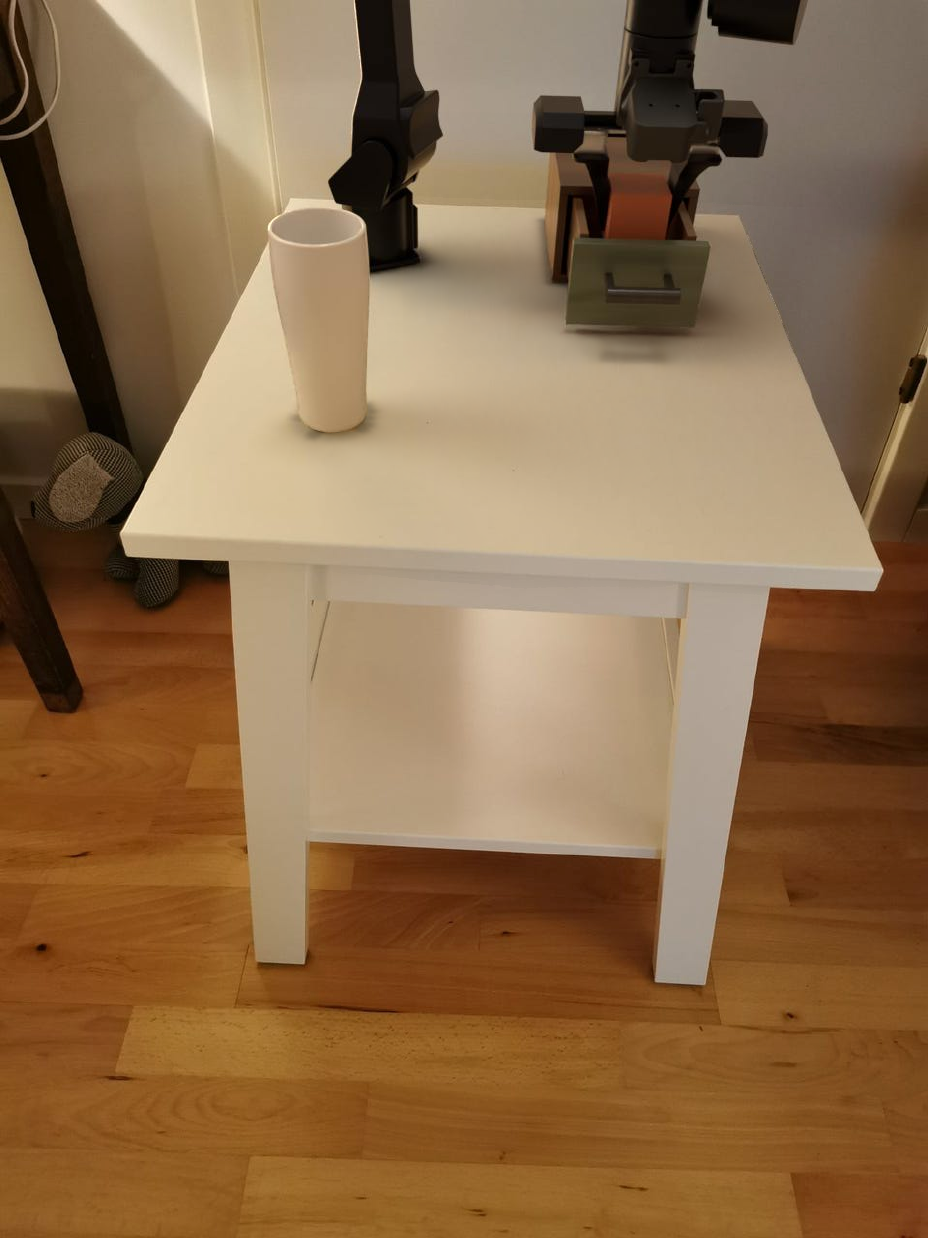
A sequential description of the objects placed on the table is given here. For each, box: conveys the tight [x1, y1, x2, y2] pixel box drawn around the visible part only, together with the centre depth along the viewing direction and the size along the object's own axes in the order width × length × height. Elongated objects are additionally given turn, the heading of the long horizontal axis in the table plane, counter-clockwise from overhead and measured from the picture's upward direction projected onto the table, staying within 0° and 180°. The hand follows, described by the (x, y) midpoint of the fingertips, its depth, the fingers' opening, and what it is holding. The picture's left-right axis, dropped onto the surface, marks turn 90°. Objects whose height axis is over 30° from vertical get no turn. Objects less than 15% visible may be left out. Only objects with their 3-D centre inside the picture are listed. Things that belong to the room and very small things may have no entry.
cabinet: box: [544, 137, 701, 284], centre depth 96 cm, size 15×13×9 cm
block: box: [601, 173, 672, 240], centre depth 85 cm, size 5×5×5 cm
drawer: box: [564, 195, 712, 328], centre depth 86 cm, size 18×11×7 cm, turn 179°
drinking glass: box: [267, 206, 371, 433], centre depth 71 cm, size 7×7×15 cm
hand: (632, 229), depth 86 cm, fingers closed on block, 5 cm apart
